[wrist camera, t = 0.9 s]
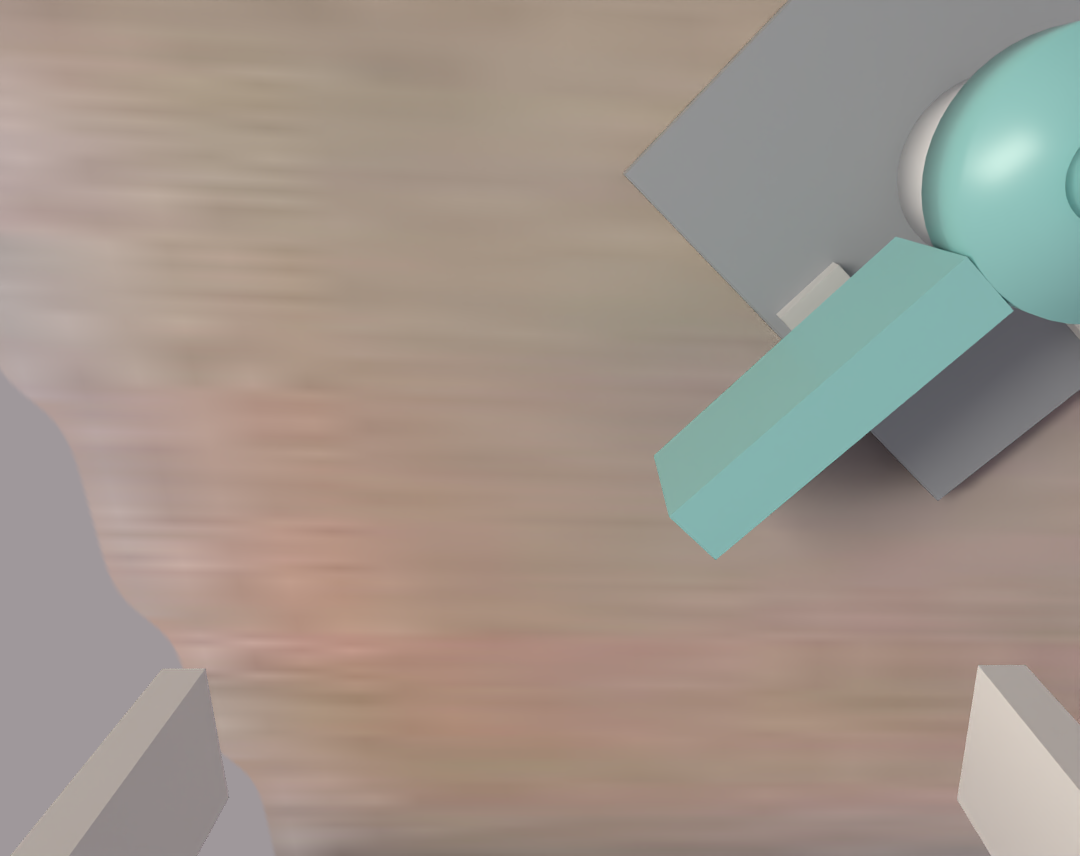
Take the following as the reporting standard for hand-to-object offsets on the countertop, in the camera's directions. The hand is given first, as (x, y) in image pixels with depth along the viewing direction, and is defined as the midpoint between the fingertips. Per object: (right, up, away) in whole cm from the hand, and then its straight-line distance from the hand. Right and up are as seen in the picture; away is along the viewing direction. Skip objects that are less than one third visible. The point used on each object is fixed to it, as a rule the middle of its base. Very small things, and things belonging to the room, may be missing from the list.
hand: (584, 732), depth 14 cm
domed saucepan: (+12, +11, +17) cm, 24 cm away
